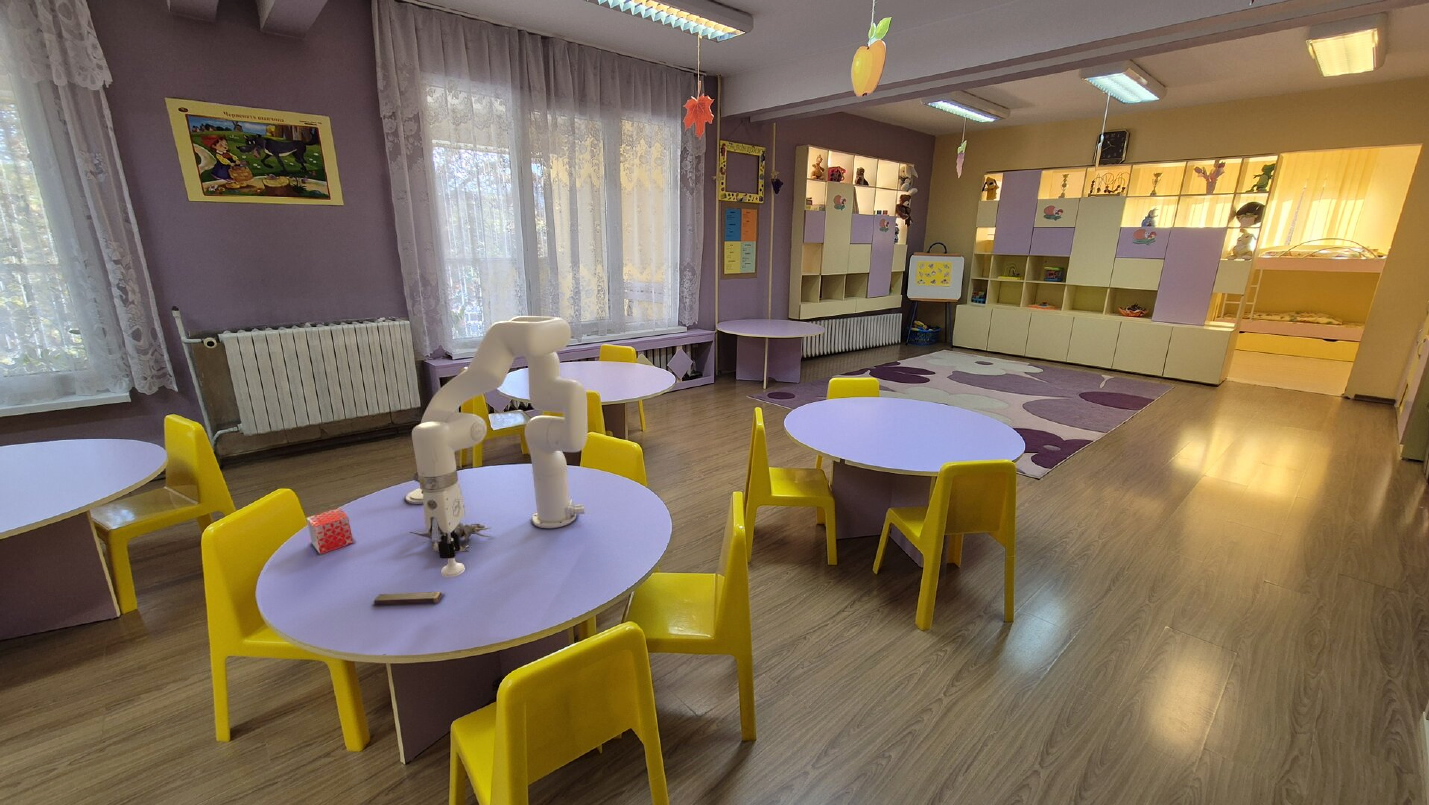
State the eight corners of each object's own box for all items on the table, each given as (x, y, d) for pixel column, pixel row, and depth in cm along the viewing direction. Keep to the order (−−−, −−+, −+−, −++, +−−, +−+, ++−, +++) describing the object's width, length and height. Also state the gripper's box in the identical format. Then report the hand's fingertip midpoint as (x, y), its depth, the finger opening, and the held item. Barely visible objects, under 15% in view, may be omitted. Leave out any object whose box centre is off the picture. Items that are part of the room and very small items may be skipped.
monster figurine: (455, 489, 189) (451, 460, 186) (430, 505, 177) (425, 475, 174) (424, 486, 191) (419, 458, 188) (397, 502, 180) (392, 472, 177)
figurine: (487, 507, 164) (495, 534, 149) (488, 526, 165) (496, 554, 151) (408, 519, 155) (409, 548, 140) (410, 539, 156) (411, 570, 142)
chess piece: (449, 580, 126) (443, 539, 123) (436, 573, 128) (430, 533, 126) (469, 569, 130) (463, 530, 127) (456, 563, 132) (450, 524, 130)
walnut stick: (442, 595, 132) (441, 591, 132) (437, 602, 130) (436, 597, 129) (380, 598, 131) (379, 593, 131) (374, 605, 129) (373, 600, 129)
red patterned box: (353, 542, 156) (348, 516, 154) (320, 554, 150) (314, 527, 148) (344, 533, 161) (339, 507, 159) (312, 543, 156) (306, 517, 154)
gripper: (441, 494, 115) (453, 573, 120) (469, 464, 131) (479, 536, 136) (403, 495, 115) (417, 575, 120) (436, 465, 130) (447, 537, 135)
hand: (450, 553), depth 128 cm, fingers closed on chess piece
